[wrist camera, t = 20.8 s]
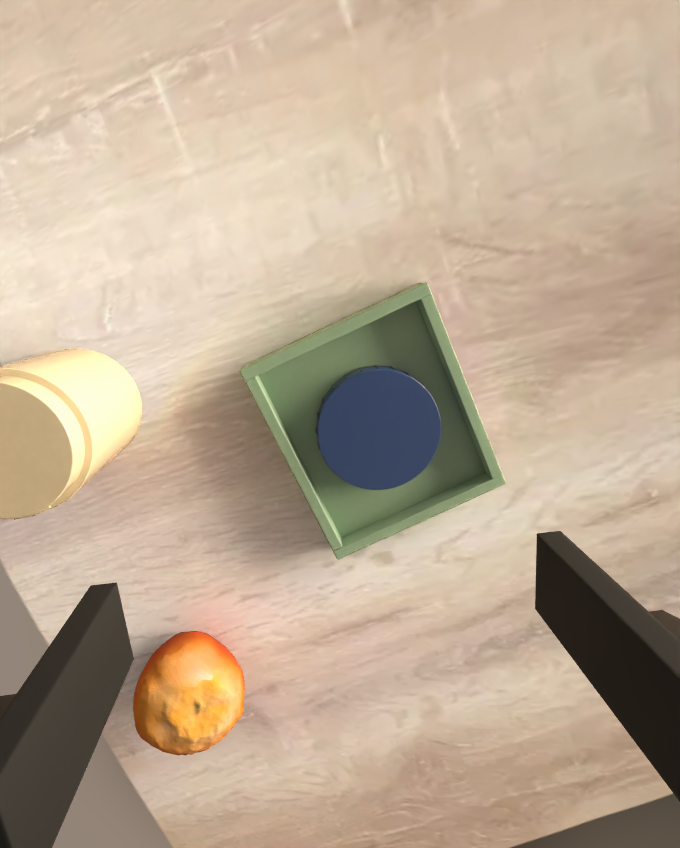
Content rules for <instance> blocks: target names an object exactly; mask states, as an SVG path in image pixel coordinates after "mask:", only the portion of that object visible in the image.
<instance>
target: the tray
mask: <svg viewBox="0 0 680 848" xmlns="http://www.w3.org/2000/svg"><path fill="white" fill-rule="evenodd" d="M374 365H376V366H385V367H390V366H392V367H393V368H395V369H398V370H400V371H403V372H407V373H408V374H410V376H411V377H413V378H414V379H415V380H417V381H419V382H421V383H422V384H423V386H424V387H425V388H426V389H427V390H428V392H429V393H430V394H431V395H432V397H433V399H434V401H435V403H436V405H437V408H438V411H439V414H440V419H441V436H440V441H439V445H438V448H437V450H436V453H435V455H434V457H433V458H432V460H431V461H430V463H429V464H428V466H427V467H426V468H425V469H424V470H423V471H422V472H421V473H420V474H419V475H418V476H416V477H415V478H414V479H412V480H411V481H409V482H407V483H405V484H403V485H400V486H398V487H395V488H391V489H385V490H369V489H363V488H359V487H356V486H354V485H351V484H349V483H347V482H345V481H344V480H342V479H341V478H340V477H338V476H337V475H336V474H335V473H334V472H333V471H332V470H331V469H330V467H329V466H328V465H327V463H326V462H325V460H324V458H323V456H322V453H321V451H320V449H319V446H318V436H317V434H316V429H315V428H317V412H318V411H319V408H320V405H321V403H322V398H324V397H325V395H326V394H327V392H328V391H329V390H330V388H331V387H332V386H331V385H334V384H335V383H336V382H337V381H338V380H339V379H341V378H342V377H344V375H347V374H349V373H351V372H353V371H355V370H358V369H359V368H365V367H371V366H374ZM240 373H241V375H242V377H243V379H244V381H246V384H247V386H248V388H249V390H250V392H251V394H252V396H253V398H254V400H255V402H256V404H257V406H258V407H259V409H260V411H261V413H262V415H263V417H264V419H265V421H266V423H267V425H268V427H269V429H270V431H271V432H272V434H273V436H274V438H275V440H276V442H277V444H278V446H279V448H280V450H281V452H282V454H283V456H284V458H285V459H286V461H287V463H288V465H289V467H290V469H291V471H292V473H293V475H294V477H295V479H296V481H297V483H298V485H299V486H300V488H301V490H302V492H303V494H304V496H305V498H306V500H307V502H308V504H309V506H310V508H311V510H312V511H313V513H314V515H315V517H316V519H317V521H318V523H319V525H320V527H321V529H322V531H323V533H324V535H325V537H326V538H327V540H328V542H329V544H330V546H331V548H332V550H333V552H334V554H335V556H336V558H337V559H340V558H342V557H345V556H347V555H349V554H351V553H354V552H356V551H358V550H360V549H362V548H365V547H367V546H369V545H371V544H373V543H376V542H378V541H380V540H382V539H384V538H387V537H389V536H391V535H393V534H395V533H398V532H400V531H402V530H404V529H406V528H409V527H411V526H413V525H415V524H418V523H420V522H422V521H424V520H426V519H429V518H431V517H433V516H435V515H437V514H440V513H442V512H444V511H446V510H448V509H451V508H453V507H455V506H457V505H459V504H462V503H464V502H466V501H468V500H471V499H473V498H475V497H477V496H479V495H482V494H484V493H486V492H488V491H490V490H493V489H495V488H497V487H499V486H501V485H504V484H505V483H506V482H505V480H504V477H503V475H502V472H501V469H500V467H499V464H498V462H497V459H496V457H495V454H494V452H493V449H492V446H491V444H490V441H489V439H488V436H487V434H486V431H485V429H484V426H483V423H482V421H481V418H480V416H479V413H478V411H477V408H476V406H475V403H474V401H473V398H472V395H471V393H470V390H469V388H468V385H467V383H466V380H465V378H464V375H463V372H462V370H461V367H460V365H459V362H458V360H457V357H456V355H455V352H454V350H453V347H452V344H451V342H450V339H449V337H448V334H447V332H446V329H445V327H444V324H443V321H442V319H441V316H440V314H439V311H438V309H437V306H436V304H435V301H434V298H433V296H432V294H431V291H430V288H429V286H428V283H418V284H416V285H414V286H412V287H410V288H407V289H405V290H403V291H401V292H399V293H397V294H395V295H393V296H390V297H388V298H386V299H384V300H382V301H380V302H378V303H376V304H374V305H371V306H369V307H367V308H365V309H363V310H361V311H359V312H357V313H354V314H352V315H350V316H348V317H346V318H344V319H342V320H340V321H337V322H335V323H333V324H331V325H329V326H327V327H325V328H323V329H321V330H318V331H316V332H314V333H312V334H310V335H308V336H306V337H304V338H301V339H299V340H297V341H295V342H293V343H291V344H289V345H287V346H285V347H282V348H280V349H278V350H276V351H274V352H272V353H270V354H268V355H265V356H263V357H261V358H259V359H257V360H255V361H253V362H251V363H249V364H246V365H244V366H243V367H242V368H241V370H240Z"/></svg>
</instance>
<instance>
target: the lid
mask: <svg viewBox="0 0 680 848" xmlns="http://www.w3.org/2000/svg"><path fill="white" fill-rule="evenodd" d="M331 386H332V387H331V388H330V390H329V391H328V392H327V394H326V395H325V397H324V398H322V403H321V405H320V408H319V411H318V412H317V428H315V429H316V434H317V436H318V446H319V449H320V451H321V453H322V456H323V458H324V460H325V462H326V463H327V465H328V466H329V467H330V469H331V470H332V471H333V472H334V473H335V474H336V475H337V476H338V477H340V478H341V479H342V480H344V481H345V482H347V483H349V484H351V485H354V486H356V487H359V488H363V489H369V490H385V489H391V488H395V487H398V486H400V485H403V484H405V483H407V482H409V481H411V480H412V479H414V478H415V477H416V476H418V475H419V474H420V473H421V472H422V471H423V470H424V469H425V468H426V467H427V466H428V464H429V463H430V461H431V460H432V458H433V457H434V455H435V453H436V450H437V448H438V445H439V441H440V436H441V419H440V414H439V411H438V408H437V405H436V403H435V401H434V399H433V397H432V395H431V394H430V393H429V392H428V390H427V389H426V388H425V387H424V386H423V384H422V383H421V382H419V381H417V380H415V379H414V378H413V377H411V376H410V374H408V373H407V372H403V371H400V370H398V369H395V368H393V367H392V366H390V367H385V366H376V365H374V366H371V367H365V368H359V369H358V370H355V371H353V372H351V373H349V374H347V375H344V377H342V378H341V379H339V380H338V381H337V382H336V383H335V384H334V385H331Z"/></svg>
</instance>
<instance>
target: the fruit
mask: <svg viewBox="0 0 680 848" xmlns="http://www.w3.org/2000/svg"><path fill="white" fill-rule="evenodd" d="M243 707H244V677H243V672H242V669H241V667H240V665H239V664H238V662H237V661H236V659H235V657H234V656H233V655H232V653H231V652H230V651H229V650H228V649H227V648H226V647H225V646H224V645H222V644H221V643H220V642H218V641H217V640H216V639H214V638H213V637H211V636H210V635H208V634H206V633H203V632H198V631H191V632H181V633H179V634H176V635H175V636H173V637H172V638H170V639H169V640H167V641H166V642H165V643H164V644H162V645H161V646H160V647H159V648H158V649H157V650H156V651H155V652H154V653H153V654H152V656H151V657H150V659H149V660H148V662H147V664H146V666H145V667H144V669H143V671H142V673H141V675H140V677H139V679H138V682H137V685H136V689H135V693H134V701H133V710H134V720H135V726H136V730H137V732H138V734H139V736H140V737H141V738H142V739H143V740H145V741H146V742H147V743H149V744H150V745H152V746H153V747H155V748H157V749H159V750H161V751H163V752H166V753H171V754H175V755H182V754H183V755H188V754H193V753H196V752H202V751H205V750H207V749H209V748H210V747H211V746H213V745H215V744H216V743H217V742H219V741H221V740H222V739H223V738H224V737H225V736H226V735H227V733H228V732H229V731H230V730H231V729H232V728H233V726H234V725H235V724H236V723H237V721H238V720H239V719H240V718H241V716H242V714H243Z"/></svg>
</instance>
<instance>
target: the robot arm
mask: <svg viewBox="0 0 680 848" xmlns="http://www.w3.org/2000/svg"><path fill="white" fill-rule="evenodd" d="M535 609H536V610H537V612H538V613H539V614H540V616H541V617H542V618H543V620H544V621H545V622H546V624H547V625H548V626H549V628H550V629H551V630H552V632H553V633H554V634H555V636H556V637H557V638H558V640H559V641H560V642H561V644H562V645H563V646H564V648H565V649H566V650H567V652H568V653H569V654H570V656H571V657H572V658H573V660H574V661H575V662H576V664H577V665H578V666H579V668H580V669H581V670H582V672H583V673H584V674H585V676H586V677H587V678H588V680H589V681H590V682H591V684H592V685H593V686H594V688H595V689H596V690H597V692H598V693H599V694H600V696H601V697H602V698H603V700H604V701H605V702H606V704H607V705H608V706H609V708H610V709H611V710H612V712H613V713H614V714H615V716H616V717H617V718H618V720H619V721H620V722H621V724H622V725H623V726H624V728H625V729H626V730H627V732H628V733H629V734H630V736H631V737H632V738H633V740H634V741H635V742H636V744H637V745H638V746H639V748H640V749H641V750H642V752H643V753H644V754H645V756H646V757H647V758H648V760H649V761H650V762H651V764H652V765H653V766H654V768H655V769H656V770H657V772H658V773H659V774H660V776H661V777H662V778H663V780H664V781H665V782H666V784H667V785H668V786H669V788H670V789H671V790H672V792H673V793H674V794H675V796H676V797H677V798H678V800H679V801H680V619H679V618H677V617H675V616H673V615H671V614H669V613H667V612H665V611H663V610H659V611H651V612H648V611H647V610H646V609H645V608H644V607H643V606H642V605H641V604H639V603H638V602H637V601H636V600H635V599H634V598H633V597H632V596H631V595H630V594H629V593H627V592H626V591H625V590H624V589H623V588H622V587H621V586H620V585H619V584H618V583H616V582H615V581H614V580H613V579H612V578H611V577H610V576H609V575H608V574H607V573H606V572H604V571H603V570H602V569H601V568H600V567H599V566H598V565H597V564H596V563H595V562H594V561H592V560H591V559H590V558H589V557H588V556H587V555H586V554H585V553H584V552H583V551H582V550H580V549H579V548H578V547H577V546H576V545H575V544H574V543H573V542H572V541H571V540H570V539H568V538H567V537H566V536H565V535H564V534H563V533H562V532H561V531H556V532H547V533H539V534H537V555H536V599H535ZM133 660H134V658H133V654H132V649H131V645H130V640H129V636H128V631H127V627H126V622H125V618H124V613H123V609H122V604H121V600H120V595H119V591H118V586H117V583H109V584H100V585H92V586H90V588H89V589H88V591H87V592H86V593H85V595H84V596H83V598H82V599H81V601H80V602H79V604H78V605H77V607H76V608H75V609H74V611H73V612H72V614H71V615H70V617H69V618H68V620H67V621H66V623H65V624H64V626H63V627H62V628H61V630H60V631H59V633H58V634H57V636H56V637H55V639H54V640H53V642H52V643H51V645H50V646H49V647H48V649H47V650H46V652H45V653H44V655H43V656H42V658H41V659H40V661H39V662H38V664H37V665H36V667H35V668H34V669H33V671H32V672H31V674H30V675H29V677H28V678H27V680H26V681H25V682H24V684H23V685H22V687H21V689H20V690H19V691H18V693H17V694H13V695H5V696H0V848H52V846H53V844H54V842H55V839H56V837H57V835H58V832H59V830H60V828H61V826H62V823H63V821H64V819H65V816H66V814H67V812H68V809H69V807H70V805H71V802H72V800H73V798H74V796H75V793H76V791H77V789H78V786H79V784H80V781H81V779H82V777H83V775H84V772H85V770H86V768H87V766H88V763H89V761H90V759H91V756H92V754H93V752H94V749H95V747H96V745H97V743H98V740H99V738H100V736H101V733H102V731H103V729H104V726H105V724H106V722H107V719H108V717H109V715H110V713H111V710H112V708H113V706H114V703H115V701H116V699H117V696H118V694H119V692H120V690H121V687H122V685H123V683H124V680H125V678H126V676H127V673H128V671H129V669H130V666H131V664H132V662H133Z"/></svg>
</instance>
